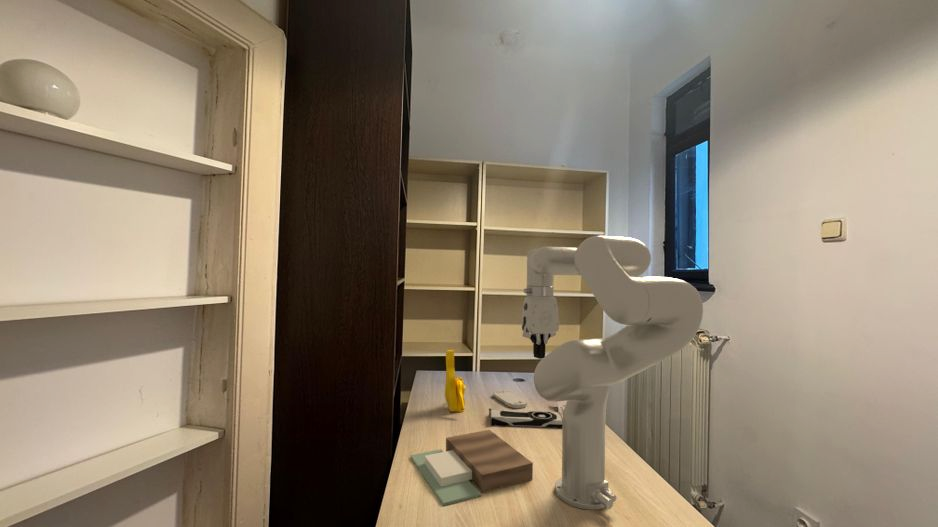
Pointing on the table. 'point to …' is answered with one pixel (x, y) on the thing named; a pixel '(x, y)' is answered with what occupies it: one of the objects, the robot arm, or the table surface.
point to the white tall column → (561, 407)
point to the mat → (448, 492)
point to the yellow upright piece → (453, 386)
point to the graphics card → (525, 418)
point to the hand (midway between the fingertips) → (539, 357)
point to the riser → (490, 460)
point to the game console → (510, 399)
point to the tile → (447, 468)
